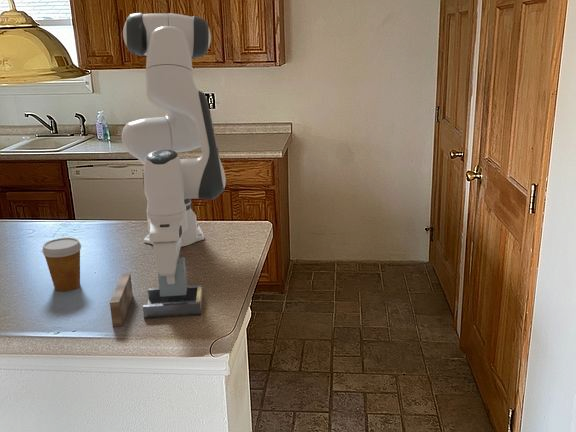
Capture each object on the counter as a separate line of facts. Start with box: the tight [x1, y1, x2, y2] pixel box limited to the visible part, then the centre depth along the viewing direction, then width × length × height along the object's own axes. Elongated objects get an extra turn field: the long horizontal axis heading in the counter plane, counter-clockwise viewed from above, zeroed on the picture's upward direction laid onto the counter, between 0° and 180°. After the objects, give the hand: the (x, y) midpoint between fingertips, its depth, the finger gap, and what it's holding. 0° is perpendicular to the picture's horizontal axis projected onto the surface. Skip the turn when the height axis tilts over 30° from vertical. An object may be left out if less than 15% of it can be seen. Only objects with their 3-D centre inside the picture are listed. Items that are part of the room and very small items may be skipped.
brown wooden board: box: [109, 273, 134, 328], centre depth 136 cm, size 16×2×6 cm, turn 6°
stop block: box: [157, 256, 188, 297], centre depth 135 cm, size 4×6×8 cm, turn 96°
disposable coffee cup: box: [41, 237, 82, 292], centre depth 148 cm, size 10×10×12 cm
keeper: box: [142, 285, 204, 320], centre depth 137 cm, size 10×13×3 cm
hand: (172, 278), depth 135 cm, fingers closed on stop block, 4 cm apart
